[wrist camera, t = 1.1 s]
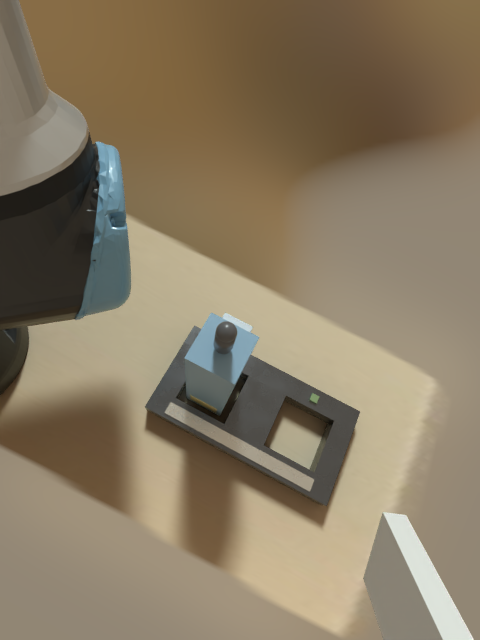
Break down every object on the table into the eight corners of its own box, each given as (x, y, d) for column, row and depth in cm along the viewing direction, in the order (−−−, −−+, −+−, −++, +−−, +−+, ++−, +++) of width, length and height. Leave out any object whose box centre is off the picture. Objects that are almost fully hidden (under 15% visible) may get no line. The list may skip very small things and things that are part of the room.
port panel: (147, 410, 39) (144, 406, 37) (194, 331, 43) (194, 324, 41) (320, 504, 37) (327, 506, 35) (352, 414, 41) (361, 411, 39)
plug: (186, 398, 40) (182, 340, 23) (208, 360, 42) (220, 279, 25) (219, 416, 40) (241, 371, 22) (239, 376, 41) (274, 307, 24)
